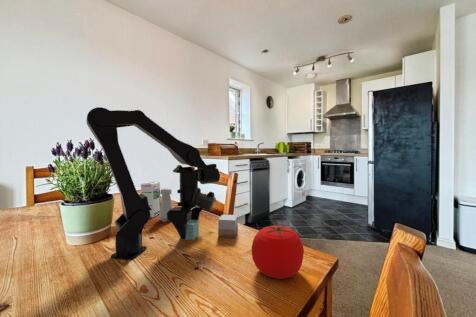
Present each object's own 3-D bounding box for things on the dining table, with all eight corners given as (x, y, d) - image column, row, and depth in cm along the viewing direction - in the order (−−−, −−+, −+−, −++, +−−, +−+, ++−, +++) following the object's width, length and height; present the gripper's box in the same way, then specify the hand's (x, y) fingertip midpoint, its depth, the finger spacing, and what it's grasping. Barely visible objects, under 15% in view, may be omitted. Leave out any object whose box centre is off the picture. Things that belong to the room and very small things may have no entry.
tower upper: (235, 229, 66) (235, 220, 66) (218, 228, 67) (218, 219, 67) (237, 223, 71) (237, 215, 71) (222, 223, 72) (222, 214, 72)
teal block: (193, 240, 65) (193, 224, 65) (180, 239, 65) (179, 224, 65) (198, 234, 69) (198, 220, 69) (186, 233, 70) (185, 219, 70)
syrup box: (153, 217, 87) (152, 183, 87) (141, 216, 88) (140, 183, 88) (161, 213, 93) (160, 181, 92) (149, 213, 94) (148, 181, 93)
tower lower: (234, 238, 66) (234, 229, 66) (218, 237, 67) (218, 228, 67) (237, 232, 71) (237, 223, 71) (222, 231, 72) (222, 222, 72)
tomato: (278, 296, 39) (278, 242, 39) (241, 268, 49) (241, 225, 49) (315, 274, 46) (315, 228, 46) (276, 253, 56) (276, 215, 56)
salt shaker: (164, 223, 80) (163, 190, 79) (156, 220, 83) (155, 188, 83) (176, 219, 84) (176, 188, 84) (168, 217, 88) (168, 186, 87)
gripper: (202, 192, 56) (203, 248, 57) (220, 182, 75) (220, 224, 75) (165, 191, 58) (166, 245, 59) (191, 181, 76) (191, 223, 77)
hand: (189, 233), depth 67 cm, fingers open, 9 cm apart
